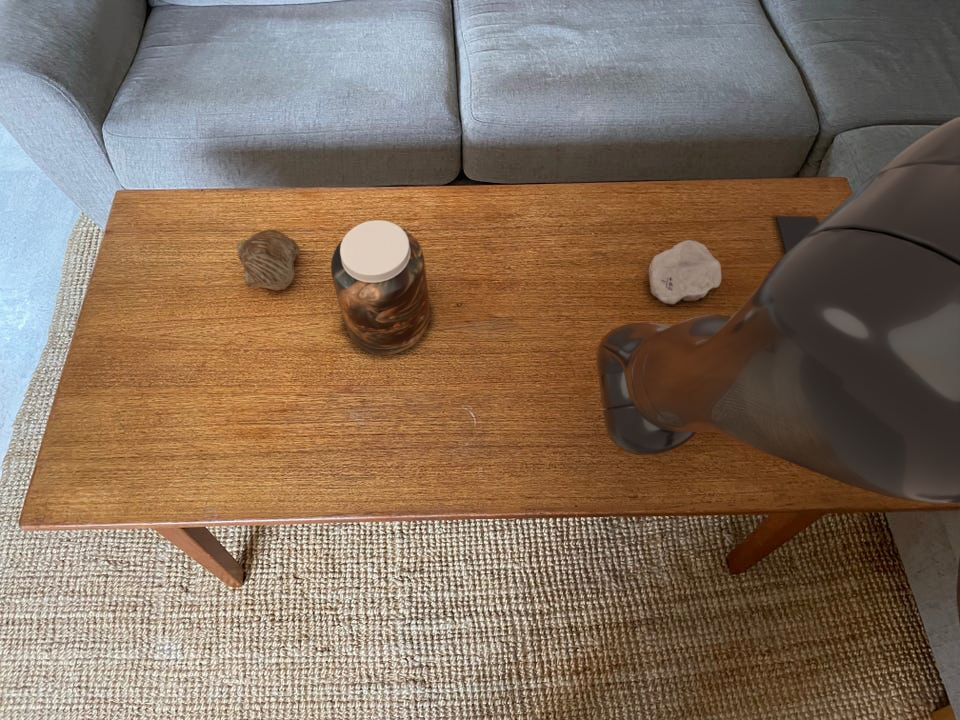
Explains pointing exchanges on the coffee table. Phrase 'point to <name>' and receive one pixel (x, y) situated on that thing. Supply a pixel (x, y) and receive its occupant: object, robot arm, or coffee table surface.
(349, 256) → the jar
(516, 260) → the coffee table surface
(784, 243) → the rubber mat
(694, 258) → the fossil
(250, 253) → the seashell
